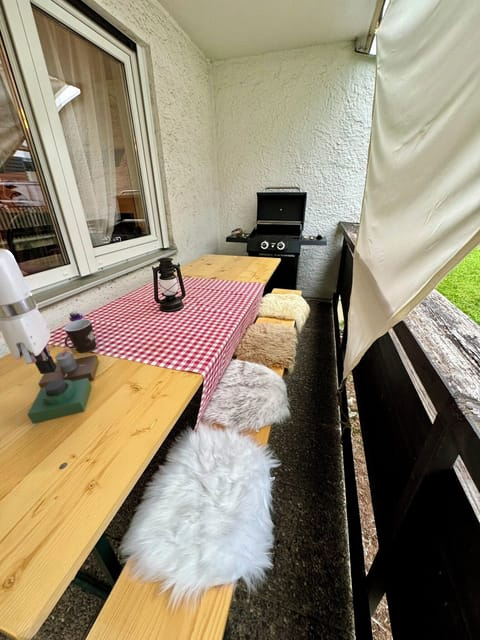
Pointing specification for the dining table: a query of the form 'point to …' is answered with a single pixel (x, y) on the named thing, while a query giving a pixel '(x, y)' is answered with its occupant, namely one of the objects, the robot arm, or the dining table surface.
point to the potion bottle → (75, 316)
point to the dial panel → (73, 371)
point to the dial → (66, 361)
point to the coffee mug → (81, 335)
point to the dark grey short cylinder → (56, 387)
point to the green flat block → (61, 402)
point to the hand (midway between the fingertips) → (49, 371)
